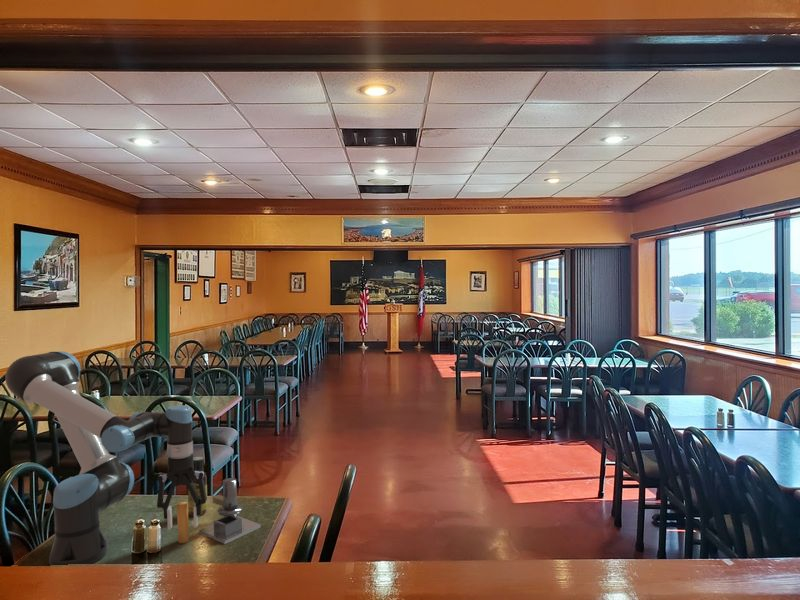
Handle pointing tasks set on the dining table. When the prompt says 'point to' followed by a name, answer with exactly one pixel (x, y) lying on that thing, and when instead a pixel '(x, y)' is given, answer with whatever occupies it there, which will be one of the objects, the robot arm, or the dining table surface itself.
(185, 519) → the orange cylinder
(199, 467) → the sauce bottle
